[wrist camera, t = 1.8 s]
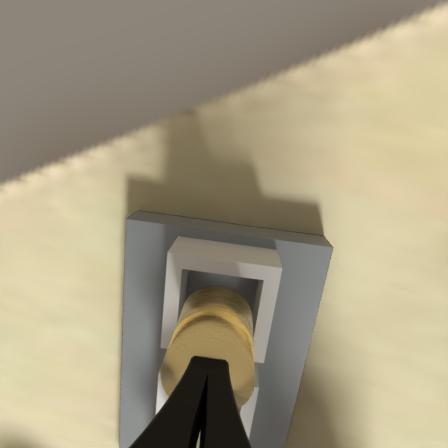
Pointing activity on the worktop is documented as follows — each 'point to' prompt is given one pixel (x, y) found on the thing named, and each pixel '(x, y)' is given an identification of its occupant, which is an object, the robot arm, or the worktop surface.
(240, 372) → the brass knob
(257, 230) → the knob mount
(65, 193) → the worktop surface
